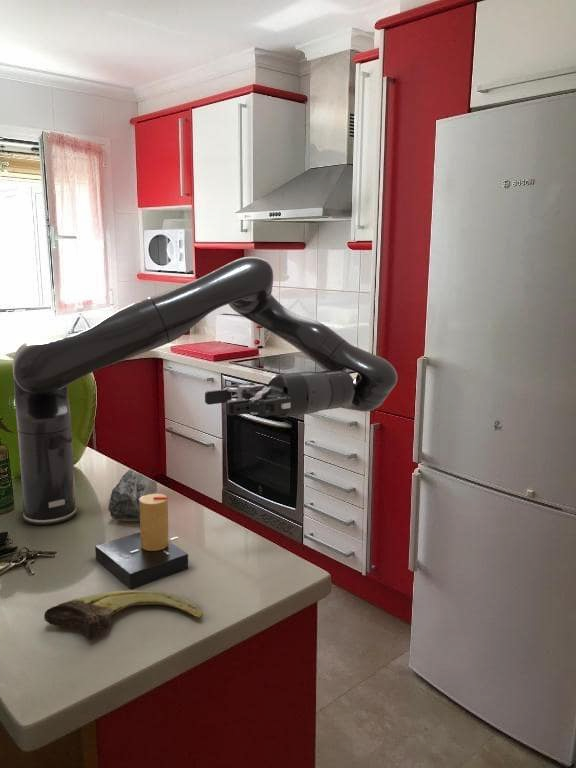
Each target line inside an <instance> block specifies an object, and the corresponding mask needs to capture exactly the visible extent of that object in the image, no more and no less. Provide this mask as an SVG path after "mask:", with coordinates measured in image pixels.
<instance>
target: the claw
mask: <svg viewBox="0 0 576 768" xmlns="http://www.w3.org/2000/svg"><path fill="white" fill-rule="evenodd" d="M139 605H164V606H169V607H173V608H174V609H175V608H176V609H179V610H181V611H183V612H186V613H187V614H190V615H192V616H194V617H196V618H198V619H201V618H203V616H204V614H203V612H202V611H201V609H200V608H199V607H198V606H197V605H196V604H194V603H193V602H191V601H190V600H189V599H187V598H185V597H182V596H178V595H177V594H172V593H169V592H165V591H157V590H139V589H130V590H117V591H108V592H100V593H95V594H92V595H87V596H82V597H78V598H74V599H71V600H67V601H64V602H62V603H59V604H57V605H55V606H52V607H49V608H48V609H47V610H46V611H45V612H44V618H43V619H44V621H45V622H46V623H48V624H49V625H52V626H56V627H57V626H58V627H61V628H62V627H63V628H69V629H74V630H77V631H79V632H81V633H83V634H84V635H86V636H87V639H88V640H94V639H95V638H96V637H97V635H98V634H99V632H103V631H104V632H105V631H107V630H109V628H110V626H111V621H112V615H115V613H118V612H120V611H121V610H124V609H126V608H128V607H132V606H139Z"/></svg>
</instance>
